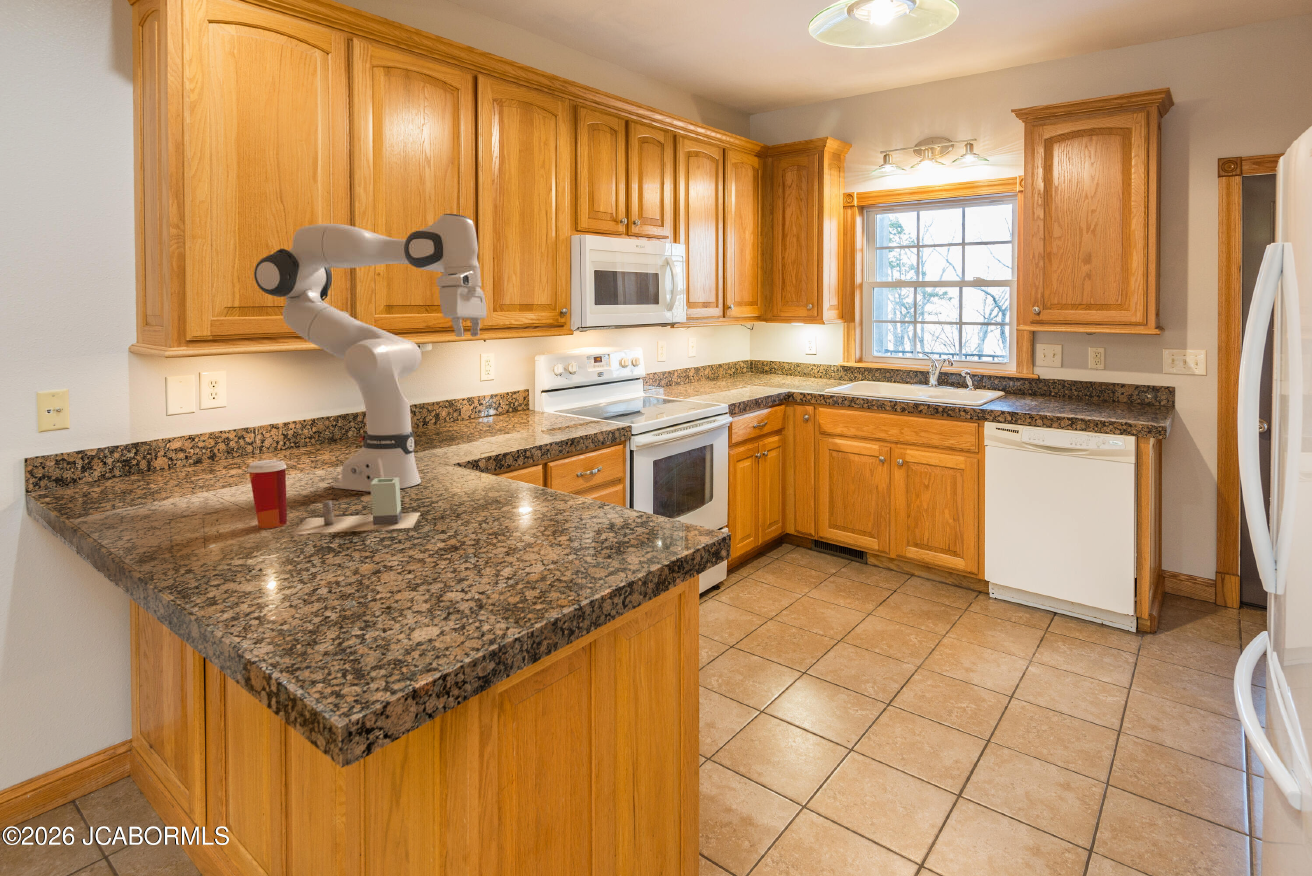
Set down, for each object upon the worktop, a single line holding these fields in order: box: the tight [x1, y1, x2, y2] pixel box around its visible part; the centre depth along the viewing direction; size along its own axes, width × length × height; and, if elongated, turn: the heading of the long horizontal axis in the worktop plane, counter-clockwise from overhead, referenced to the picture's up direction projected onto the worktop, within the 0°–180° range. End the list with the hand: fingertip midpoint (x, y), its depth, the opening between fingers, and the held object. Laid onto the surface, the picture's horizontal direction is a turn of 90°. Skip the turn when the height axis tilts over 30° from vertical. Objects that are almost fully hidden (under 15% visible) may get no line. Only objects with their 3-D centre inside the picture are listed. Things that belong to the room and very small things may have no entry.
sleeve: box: [370, 478, 402, 525], centre depth 163 cm, size 5×5×9 cm
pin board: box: [290, 500, 421, 535], centre depth 162 cm, size 24×12×6 cm, turn 100°
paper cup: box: [247, 459, 288, 530], centre depth 166 cm, size 8×8×14 cm
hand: (467, 336), depth 191 cm, fingers open, 8 cm apart
